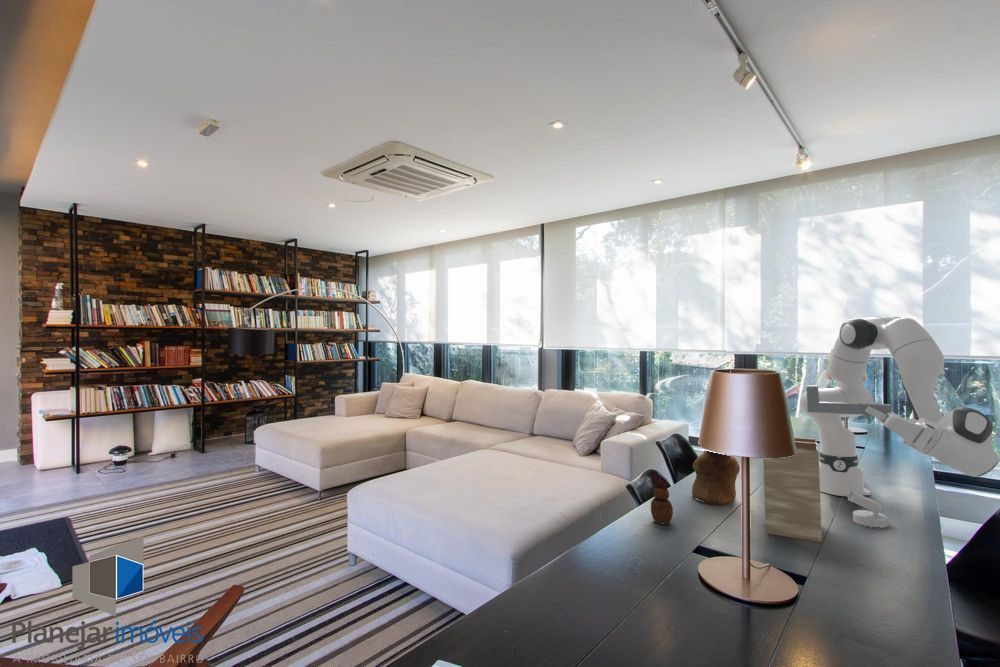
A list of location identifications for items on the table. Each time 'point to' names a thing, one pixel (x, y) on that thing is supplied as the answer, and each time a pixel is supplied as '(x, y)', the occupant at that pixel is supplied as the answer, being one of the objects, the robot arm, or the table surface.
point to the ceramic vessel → (715, 478)
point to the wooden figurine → (661, 503)
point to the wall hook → (868, 512)
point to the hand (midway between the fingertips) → (865, 407)
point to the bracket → (839, 405)
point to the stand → (794, 493)
